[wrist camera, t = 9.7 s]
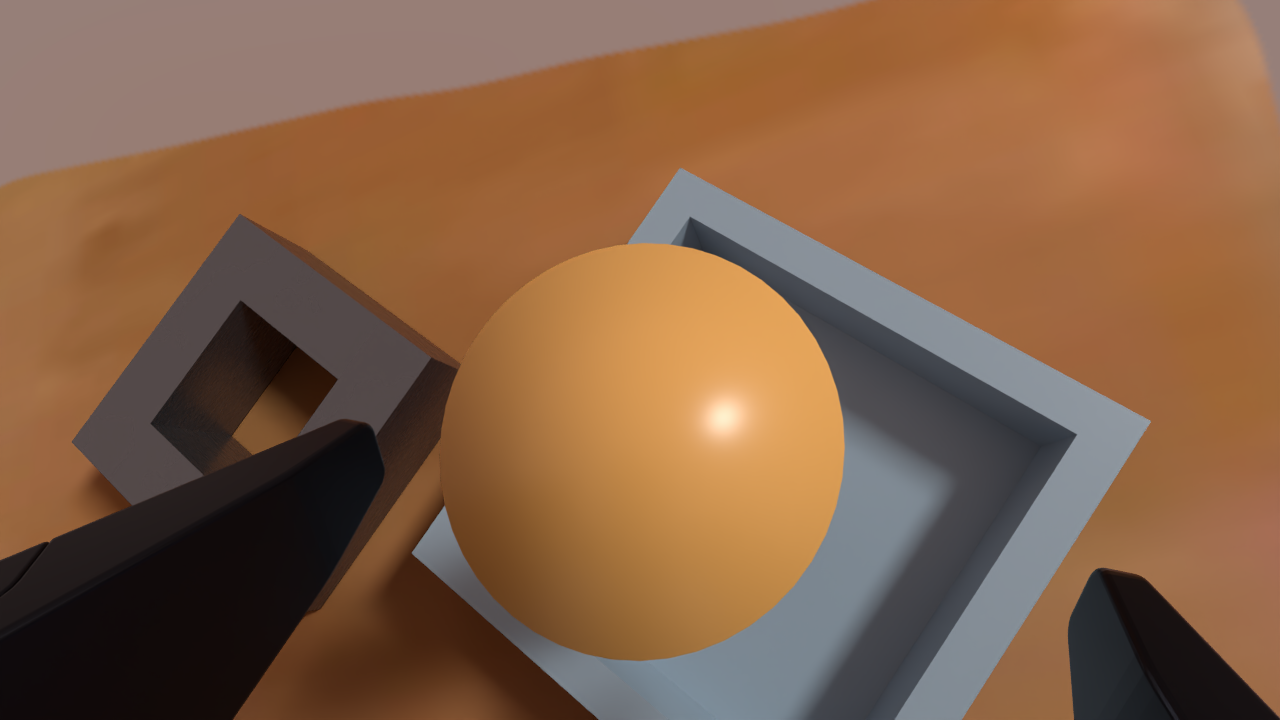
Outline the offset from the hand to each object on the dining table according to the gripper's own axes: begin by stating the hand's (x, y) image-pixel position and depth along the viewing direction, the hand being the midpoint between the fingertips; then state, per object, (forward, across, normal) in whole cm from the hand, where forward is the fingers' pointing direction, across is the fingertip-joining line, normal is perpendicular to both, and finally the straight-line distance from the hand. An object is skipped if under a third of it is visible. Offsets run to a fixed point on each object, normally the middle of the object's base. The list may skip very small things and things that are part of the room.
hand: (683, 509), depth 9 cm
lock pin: (+7, 0, +7) cm, 10 cm away
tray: (+8, 0, +7) cm, 11 cm away
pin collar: (+8, +14, +7) cm, 18 cm away
